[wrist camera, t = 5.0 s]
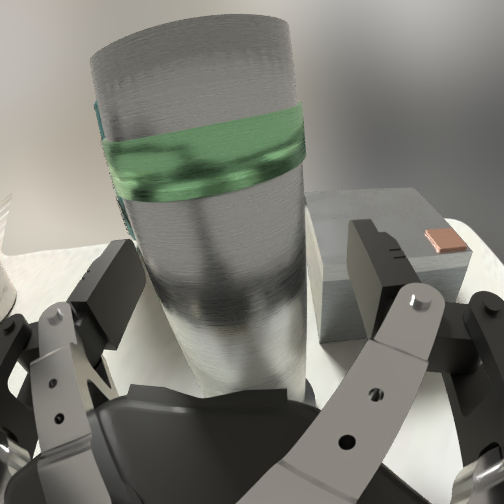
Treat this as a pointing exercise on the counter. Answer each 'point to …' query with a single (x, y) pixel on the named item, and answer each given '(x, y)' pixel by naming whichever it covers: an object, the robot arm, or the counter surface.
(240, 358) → the clear glass cylinder
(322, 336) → the stand block
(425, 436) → the counter surface
